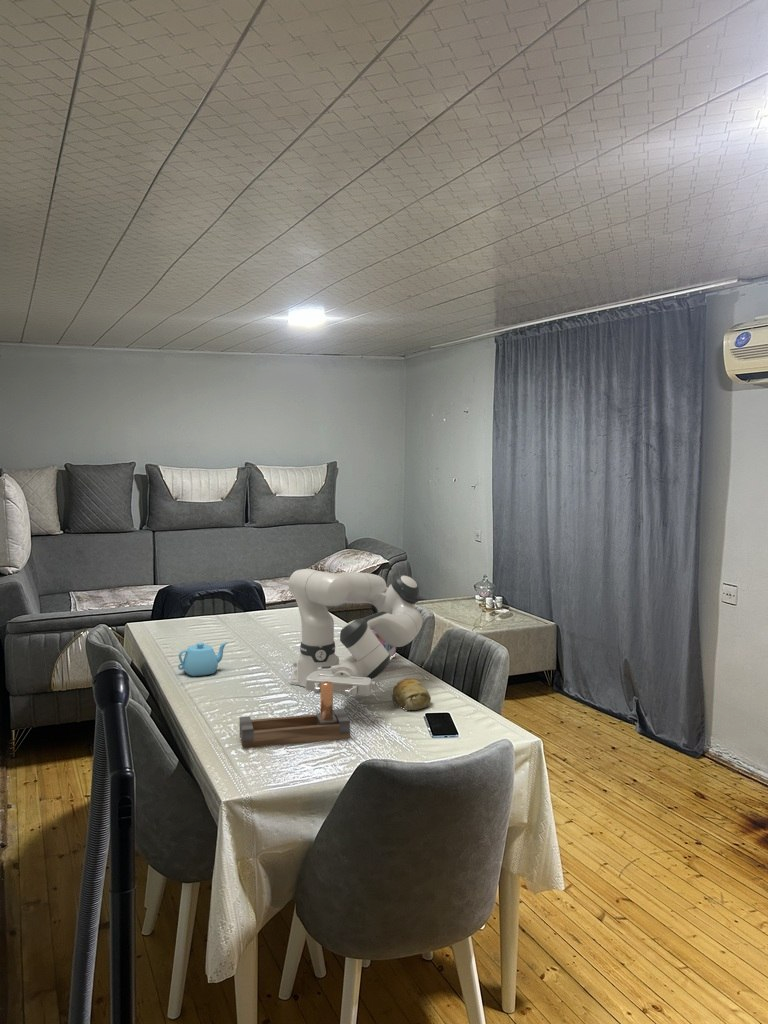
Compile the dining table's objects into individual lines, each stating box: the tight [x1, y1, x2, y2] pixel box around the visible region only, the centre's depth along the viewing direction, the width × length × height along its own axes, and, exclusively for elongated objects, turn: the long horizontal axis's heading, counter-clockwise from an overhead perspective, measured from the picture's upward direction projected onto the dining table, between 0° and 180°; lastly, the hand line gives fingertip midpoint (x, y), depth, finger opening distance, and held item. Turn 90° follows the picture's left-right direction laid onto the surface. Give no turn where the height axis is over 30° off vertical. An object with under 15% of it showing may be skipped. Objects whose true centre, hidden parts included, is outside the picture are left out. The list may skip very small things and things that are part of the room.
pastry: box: [391, 678, 432, 712], centre depth 246 cm, size 14×12×8 cm
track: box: [239, 708, 351, 748], centre depth 218 cm, size 10×30×5 cm, turn 105°
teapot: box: [177, 641, 229, 677], centre depth 277 cm, size 13×11×18 cm
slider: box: [315, 681, 337, 725], centre depth 220 cm, size 6×5×13 cm
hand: (331, 692), depth 225 cm, fingers open, 8 cm apart
